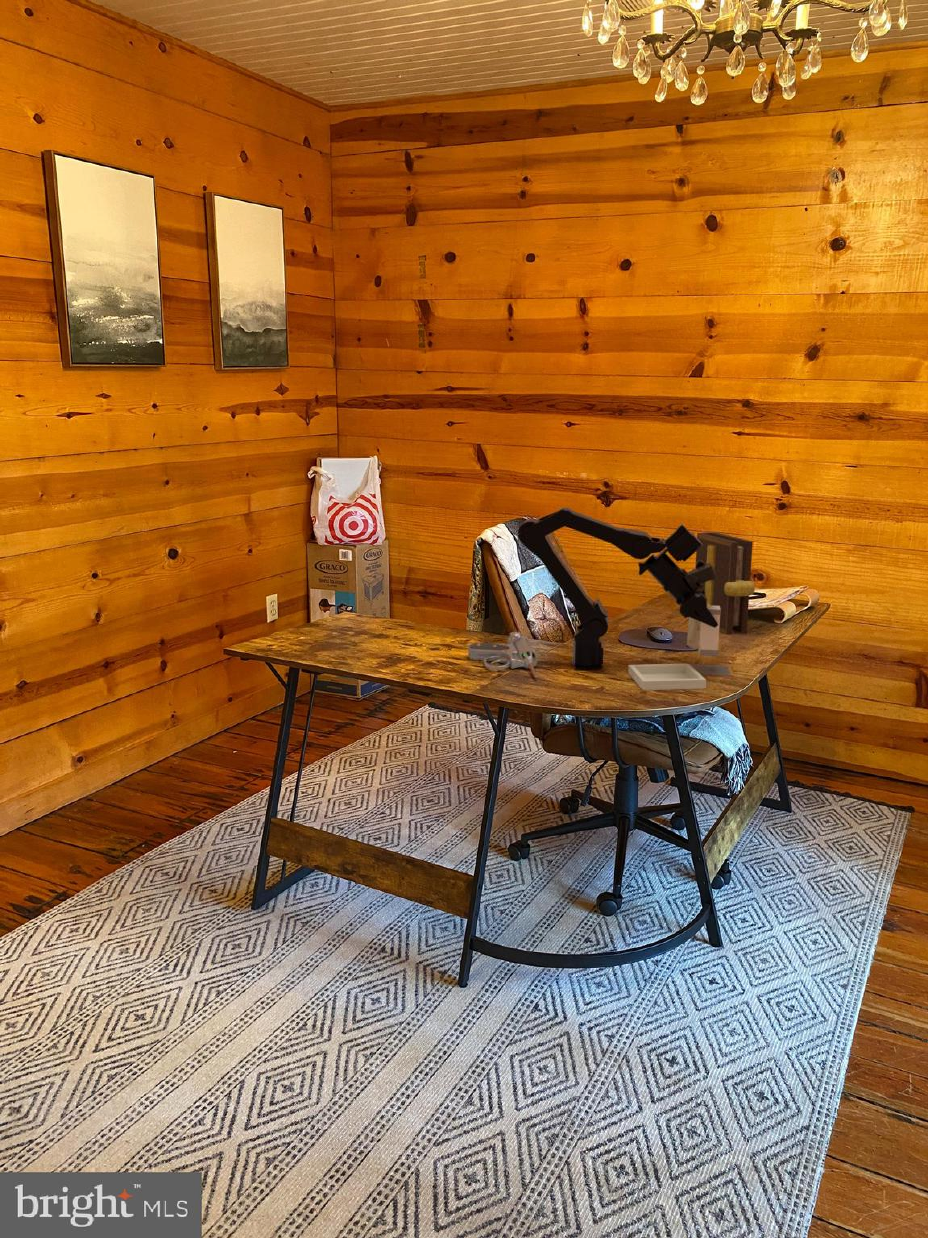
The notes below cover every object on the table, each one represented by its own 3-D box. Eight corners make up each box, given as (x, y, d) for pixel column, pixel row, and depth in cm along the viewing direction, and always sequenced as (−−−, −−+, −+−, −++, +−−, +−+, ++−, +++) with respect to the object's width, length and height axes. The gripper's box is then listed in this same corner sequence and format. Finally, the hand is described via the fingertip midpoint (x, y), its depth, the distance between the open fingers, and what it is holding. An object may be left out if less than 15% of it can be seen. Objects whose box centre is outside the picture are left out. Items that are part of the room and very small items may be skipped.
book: (686, 619, 277) (691, 533, 271) (712, 617, 279) (717, 531, 273) (729, 637, 256) (734, 544, 250) (756, 635, 259) (763, 542, 253)
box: (693, 651, 243) (695, 608, 240) (686, 646, 247) (688, 604, 244) (712, 649, 244) (715, 607, 241) (705, 645, 248) (707, 603, 245)
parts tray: (642, 692, 209) (643, 681, 208) (628, 675, 222) (628, 664, 221) (705, 690, 210) (706, 679, 209) (687, 673, 223) (688, 663, 222)
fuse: (699, 655, 222) (701, 608, 219) (698, 650, 226) (700, 605, 223) (718, 656, 221) (720, 609, 219) (716, 651, 225) (719, 605, 223)
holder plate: (685, 675, 222) (685, 673, 221) (684, 666, 229) (684, 663, 229) (730, 677, 220) (730, 675, 220) (727, 668, 227) (727, 666, 227)
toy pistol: (466, 654, 244) (528, 646, 245) (479, 696, 217) (548, 688, 218) (464, 632, 242) (526, 625, 243) (477, 672, 215) (547, 664, 216)
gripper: (698, 558, 210) (747, 609, 210) (694, 545, 228) (739, 592, 228) (659, 592, 213) (708, 642, 214) (659, 577, 231) (703, 623, 231)
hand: (716, 624), depth 222 cm, fingers closed on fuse, 4 cm apart
